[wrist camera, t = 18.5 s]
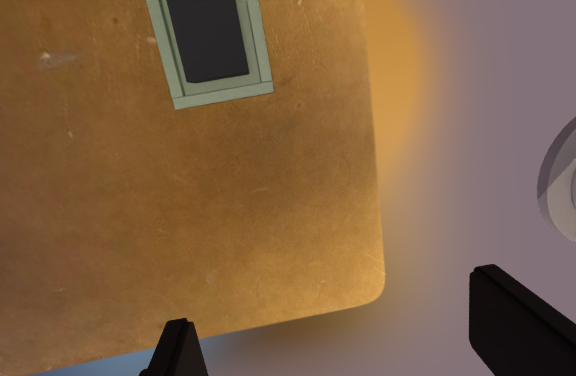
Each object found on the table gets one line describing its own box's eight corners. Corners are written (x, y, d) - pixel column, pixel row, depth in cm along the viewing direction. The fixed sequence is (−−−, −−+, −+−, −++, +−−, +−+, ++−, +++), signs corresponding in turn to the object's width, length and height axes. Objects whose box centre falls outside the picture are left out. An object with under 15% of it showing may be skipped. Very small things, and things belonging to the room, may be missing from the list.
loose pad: (171, -16, 28) (157, -33, 24) (230, -25, 28) (226, -44, 24) (195, 83, 30) (186, 82, 26) (249, 74, 30) (248, 71, 26)
